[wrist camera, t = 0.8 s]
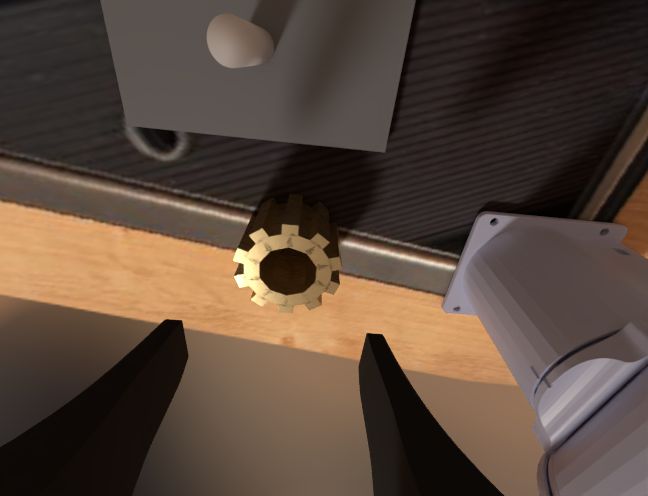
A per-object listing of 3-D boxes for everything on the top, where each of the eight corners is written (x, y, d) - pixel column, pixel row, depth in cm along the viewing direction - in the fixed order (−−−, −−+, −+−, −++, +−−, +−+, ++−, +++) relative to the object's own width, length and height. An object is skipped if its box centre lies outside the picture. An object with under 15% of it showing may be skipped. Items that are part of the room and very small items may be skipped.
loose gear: (343, 198, 19) (348, 230, 15) (332, 275, 22) (334, 316, 18) (247, 189, 18) (230, 219, 15) (249, 268, 21) (236, 309, 18)
